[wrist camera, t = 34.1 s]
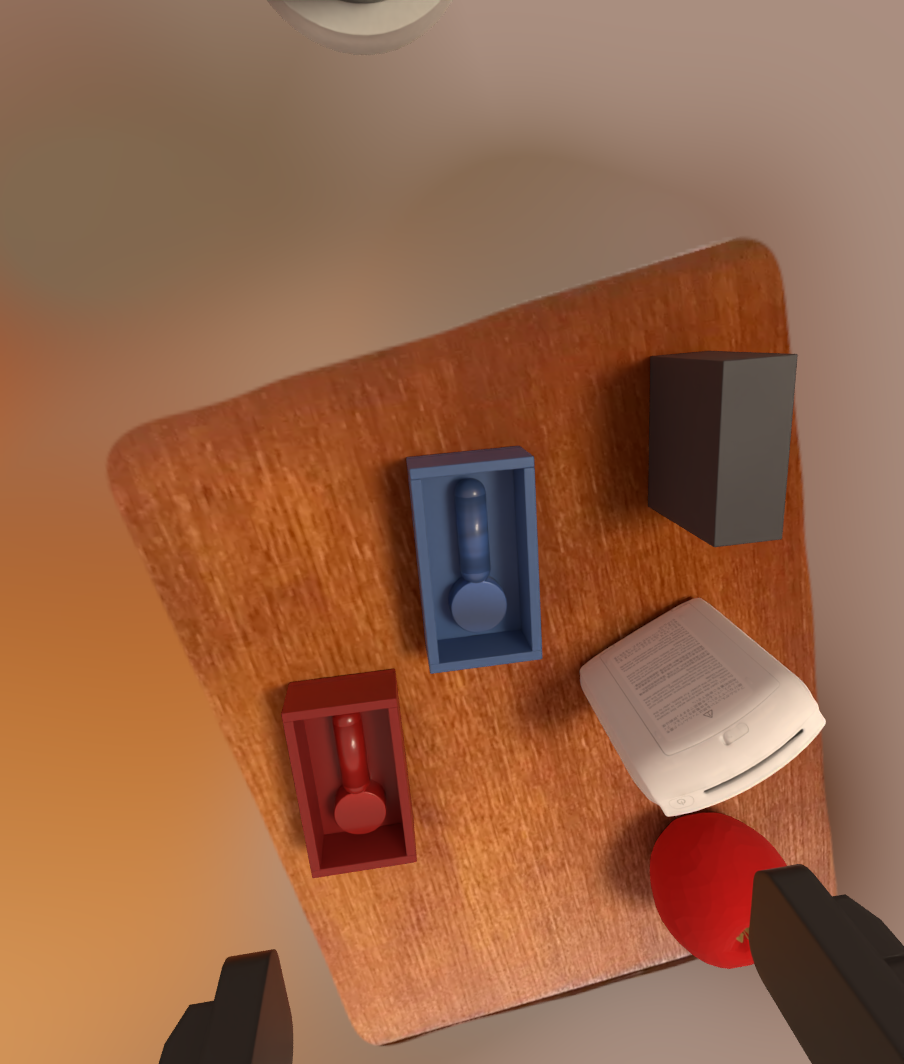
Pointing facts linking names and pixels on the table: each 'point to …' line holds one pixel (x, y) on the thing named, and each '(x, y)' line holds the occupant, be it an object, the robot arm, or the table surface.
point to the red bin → (322, 778)
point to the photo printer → (698, 708)
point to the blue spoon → (475, 564)
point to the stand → (721, 443)
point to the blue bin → (510, 554)
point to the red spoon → (356, 779)
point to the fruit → (709, 884)
